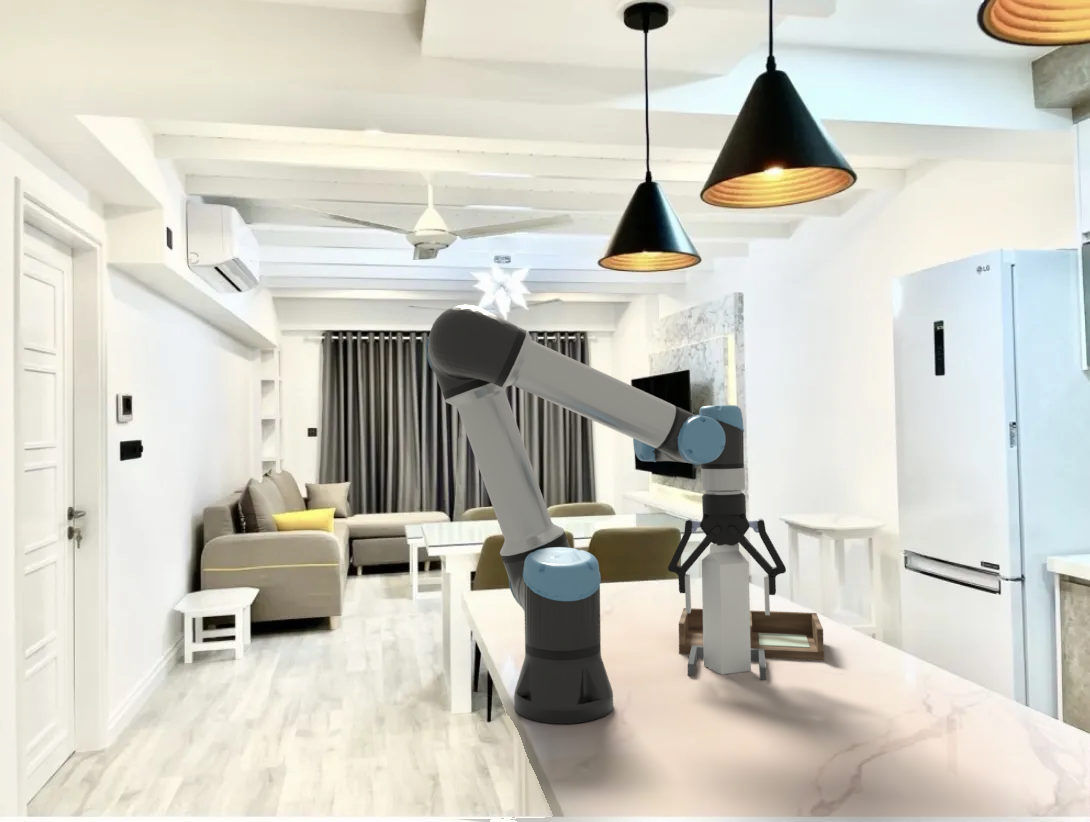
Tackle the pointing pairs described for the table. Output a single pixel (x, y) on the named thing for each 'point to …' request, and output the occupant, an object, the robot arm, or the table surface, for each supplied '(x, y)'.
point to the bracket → (755, 656)
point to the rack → (765, 634)
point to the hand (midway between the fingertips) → (727, 612)
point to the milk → (726, 610)
